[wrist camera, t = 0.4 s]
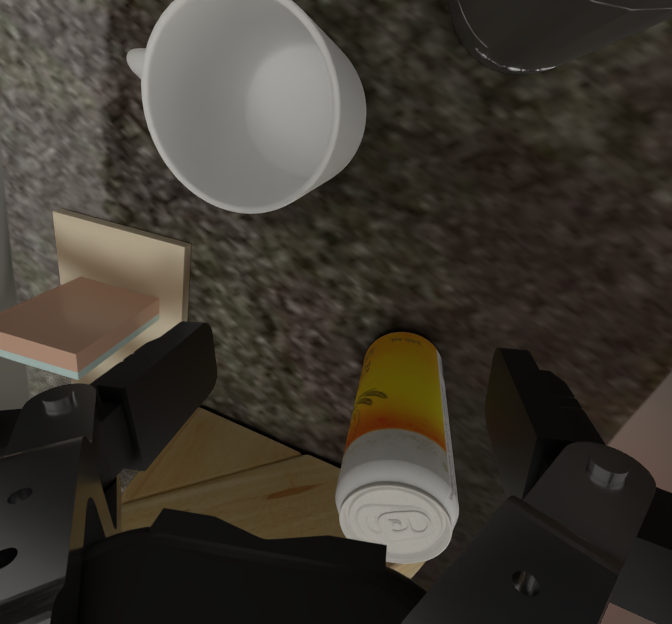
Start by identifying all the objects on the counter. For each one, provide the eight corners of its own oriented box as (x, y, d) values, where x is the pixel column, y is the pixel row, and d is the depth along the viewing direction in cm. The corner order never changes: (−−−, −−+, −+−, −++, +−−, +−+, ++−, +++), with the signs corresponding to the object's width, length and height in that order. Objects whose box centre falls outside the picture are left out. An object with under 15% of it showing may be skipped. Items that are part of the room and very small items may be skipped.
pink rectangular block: (81, 276, 33) (-26, 324, 25) (159, 298, 33) (75, 354, 25) (82, 297, 34) (-21, 350, 26) (159, 319, 33) (78, 380, 25)
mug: (206, -8, 24) (67, -98, 14) (390, 67, 24) (373, 27, 14) (182, 138, 28) (61, 143, 18) (341, 203, 28) (302, 242, 18)
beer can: (356, 334, 32) (314, 484, 18) (433, 320, 30) (448, 474, 17) (375, 396, 34) (350, 570, 21) (447, 386, 32) (471, 568, 19)
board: (62, 208, 32) (52, 211, 31) (191, 243, 31) (184, 247, 30) (81, 400, 41) (74, 407, 40) (181, 431, 40) (176, 438, 39)
